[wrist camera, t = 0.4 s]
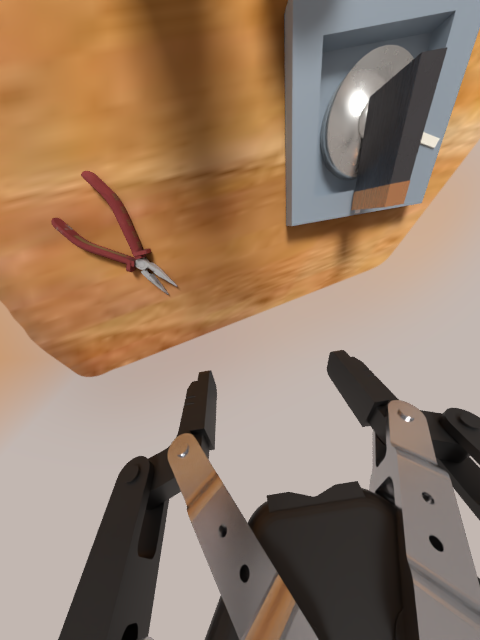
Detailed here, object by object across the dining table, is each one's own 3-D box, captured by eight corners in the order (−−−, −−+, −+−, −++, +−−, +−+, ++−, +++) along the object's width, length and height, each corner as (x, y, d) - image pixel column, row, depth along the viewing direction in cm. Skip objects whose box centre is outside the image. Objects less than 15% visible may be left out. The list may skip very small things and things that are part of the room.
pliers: (157, 304, 37) (152, 309, 35) (57, 223, 29) (43, 223, 26) (193, 270, 34) (191, 274, 32) (94, 169, 26) (81, 163, 23)
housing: (284, 14, 20) (293, -20, 17) (470, -22, 20) (510, -61, 17) (286, 225, 31) (292, 226, 28) (405, 204, 31) (422, 202, 28)
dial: (324, 69, 22) (383, -19, 14) (417, 52, 22) (531, -48, 14) (315, 215, 30) (348, 213, 22) (382, 203, 30) (440, 197, 22)
